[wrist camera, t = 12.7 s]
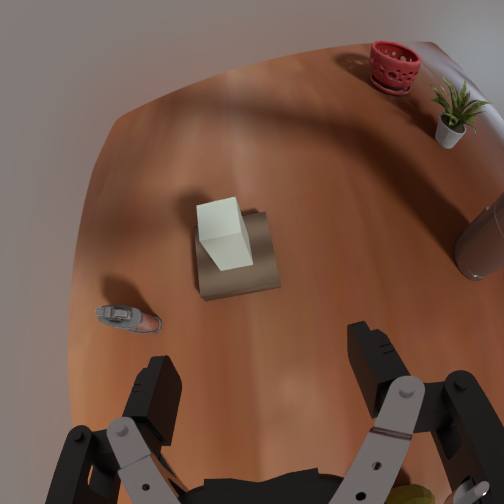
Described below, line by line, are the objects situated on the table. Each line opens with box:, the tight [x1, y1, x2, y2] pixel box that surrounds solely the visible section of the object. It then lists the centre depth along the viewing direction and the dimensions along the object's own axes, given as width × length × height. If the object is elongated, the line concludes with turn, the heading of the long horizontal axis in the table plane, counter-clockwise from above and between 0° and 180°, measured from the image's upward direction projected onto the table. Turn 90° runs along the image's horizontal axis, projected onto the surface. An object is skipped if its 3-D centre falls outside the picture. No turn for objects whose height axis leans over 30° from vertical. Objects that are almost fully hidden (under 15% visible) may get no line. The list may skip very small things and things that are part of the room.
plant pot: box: [370, 41, 421, 96], centre depth 55 cm, size 13×13×12 cm
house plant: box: [431, 76, 492, 149], centre depth 44 cm, size 14×14×16 cm
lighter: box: [96, 305, 162, 334], centre depth 40 cm, size 8×3×10 cm, turn 89°
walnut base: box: [194, 212, 281, 301], centre depth 46 cm, size 12×12×3 cm
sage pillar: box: [197, 197, 253, 271], centre depth 39 cm, size 5×5×11 cm
